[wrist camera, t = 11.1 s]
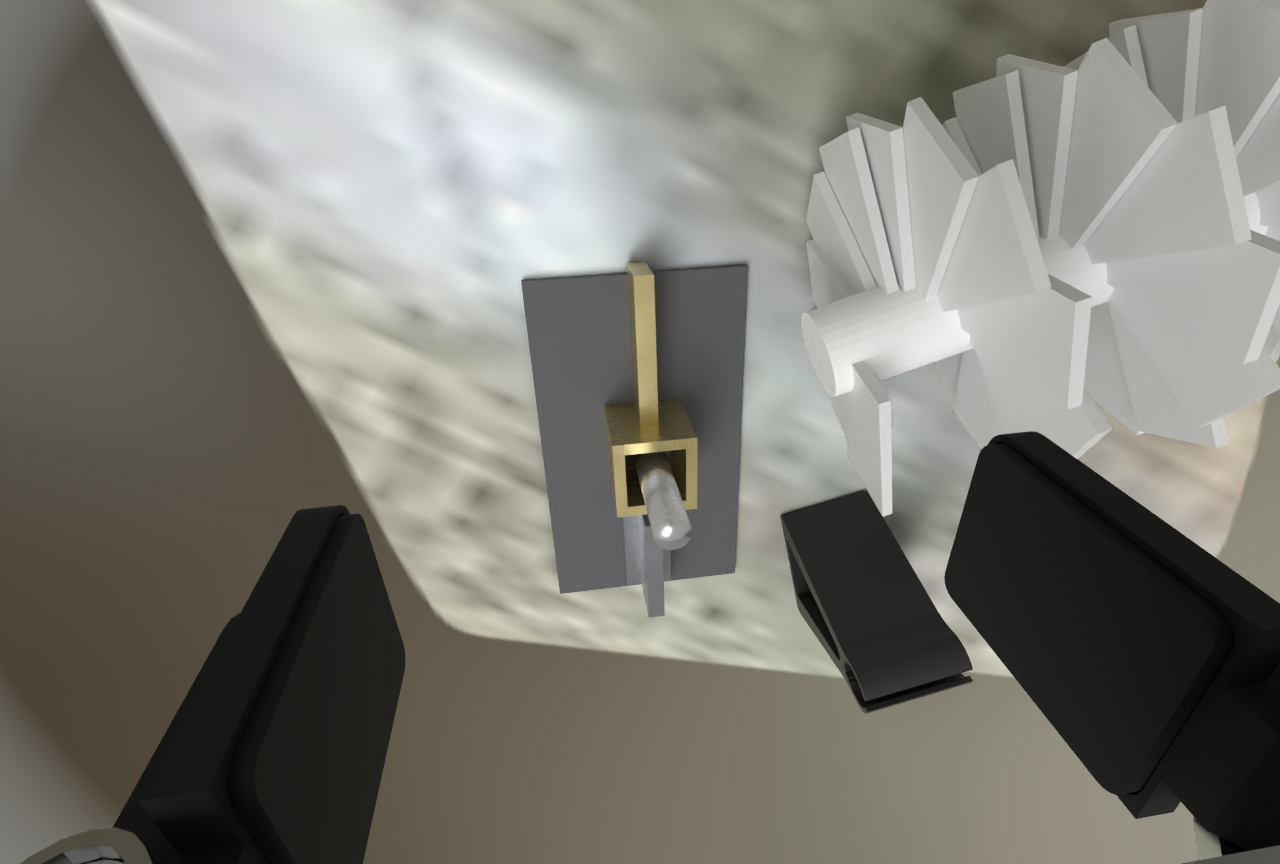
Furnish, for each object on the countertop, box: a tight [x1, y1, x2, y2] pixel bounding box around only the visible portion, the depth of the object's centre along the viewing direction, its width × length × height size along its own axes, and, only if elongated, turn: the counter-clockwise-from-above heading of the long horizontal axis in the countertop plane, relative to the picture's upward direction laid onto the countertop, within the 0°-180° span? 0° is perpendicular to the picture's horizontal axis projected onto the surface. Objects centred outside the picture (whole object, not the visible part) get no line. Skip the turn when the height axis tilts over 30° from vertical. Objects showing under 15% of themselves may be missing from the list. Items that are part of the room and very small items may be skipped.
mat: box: [522, 265, 748, 594], centre depth 38 cm, size 21×12×1 cm, turn 2°
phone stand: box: [781, 491, 973, 713], centre depth 39 cm, size 9×6×12 cm, turn 14°
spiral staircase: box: [801, 0, 1280, 517], centre depth 27 cm, size 18×18×25 cm
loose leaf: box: [604, 262, 697, 518], centre depth 33 cm, size 12×4×5 cm, turn 2°
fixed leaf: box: [623, 451, 692, 617], centre depth 35 cm, size 12×3×10 cm, turn 2°
